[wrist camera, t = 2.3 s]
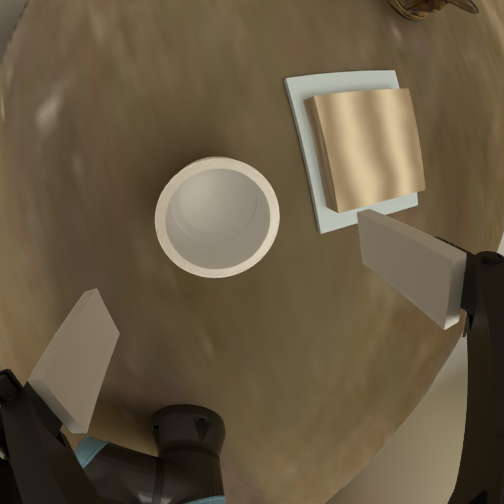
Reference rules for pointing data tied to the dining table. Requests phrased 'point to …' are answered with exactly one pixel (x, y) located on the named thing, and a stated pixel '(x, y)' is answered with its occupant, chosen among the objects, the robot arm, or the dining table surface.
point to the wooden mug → (428, 7)
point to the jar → (217, 217)
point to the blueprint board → (297, 93)
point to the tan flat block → (365, 146)
